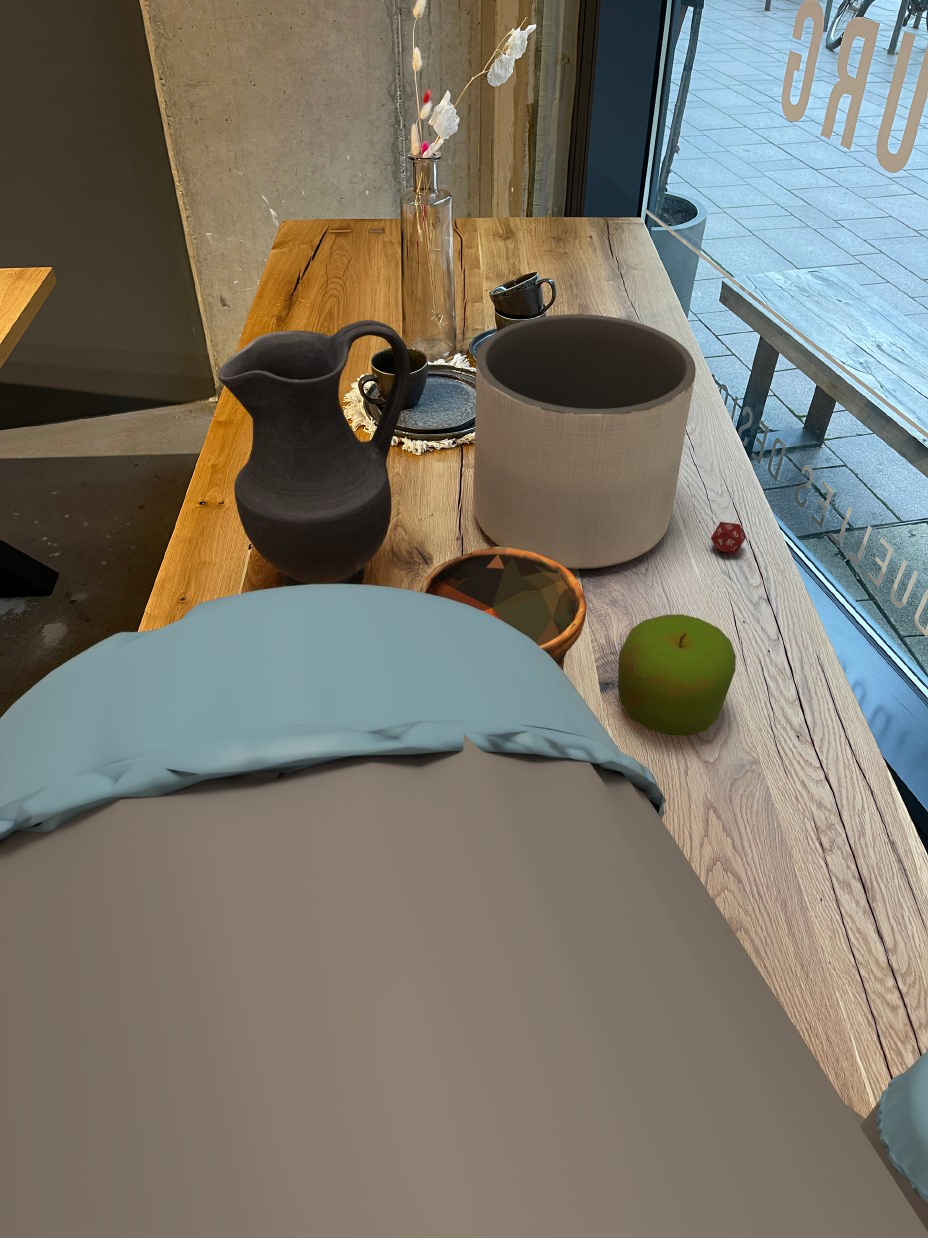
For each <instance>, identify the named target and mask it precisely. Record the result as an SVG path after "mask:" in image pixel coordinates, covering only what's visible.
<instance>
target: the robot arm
mask: <svg viewBox="0 0 928 1238" xmlns="http://www.w3.org/2000/svg"><path fill="white" fill-rule="evenodd" d="M666 803H667V799H666V797H665V796H664V794H663V792H662V790H661V788H660V787H659V785H658V782H657V780H656V778H655V776H654V774H653V772H652V771H651V770H650V768H649V767H648V766H647V765H644V764H642V763H640V762H639V761H638V760H637V759H636V758H634V757H632V756H631V755H629V754H626V753H624V752H622V751H621V750H620V747H618V745H617V744H616V742H615V741H614V739H613V738H612V737H611V735H610V734H609V733H608V731H607V730H606V729H605V727H604V726H603V724H602V723H601V721H600V720H599V718H598V717H597V716H596V715H595V712H593V710H592V709H591V708H590V706H589V705H588V703H587V701H586V700H585V699H584V698H583V696H582V694H580V692H579V690H578V689H577V688H576V686H575V685H574V683H573V682H572V680H571V679H570V678H569V677H568V675H567V674H566V673H565V671H564V669H563V670H562V669H561V668H560V667H559V666H558V664H557V663H556V662H555V661H554V660H553V659H552V658H551V657H550V655H549V654H547V653H546V652H545V651H544V650H543V649H542V648H541V647H540V646H538V645H537V644H536V643H535V642H534V641H533V640H531V639H530V638H529V637H527V636H526V635H524V634H523V633H521V632H520V631H518V630H516V629H515V628H513V627H512V626H510V625H508V624H507V623H505V622H503V621H502V620H500V619H498V618H496V617H494V616H492V615H490V614H488V613H486V612H484V611H481V610H479V609H476V608H474V607H471V606H469V605H466V604H463V603H460V602H457V601H454V600H450V599H447V598H444V597H439V596H435V595H431V594H426V593H422V592H420V591H417V590H411V589H405V588H399V587H393V586H383V585H373V584H361V585H358V584H311V585H298V586H285V585H284V586H279V587H272V588H265V589H257V590H252V591H247V592H241V593H236V594H230V595H227V596H223V597H219V598H218V597H217V598H214V599H210V600H206V601H202V602H198V603H196V604H195V606H193V608H191V609H189V610H188V611H187V612H186V613H185V614H184V616H183V617H182V618H181V619H178V620H176V621H174V622H172V623H169V624H167V625H165V626H164V625H163V626H162V627H160V628H156V629H151V630H142V631H141V630H140V631H121V632H117V633H114V634H113V635H110V636H109V637H107V638H105V639H103V640H100V641H99V642H98V643H96V644H94V645H92V646H90V647H89V648H87V649H86V650H84V651H82V652H80V653H79V654H77V655H76V656H74V657H72V658H71V659H69V660H67V661H66V662H64V663H62V664H61V665H60V666H58V667H56V668H55V669H53V670H52V671H50V672H49V673H48V674H46V676H44V677H43V678H41V680H39V681H38V682H37V683H36V684H34V685H33V686H32V687H31V688H30V689H28V690H27V691H26V692H25V693H24V694H22V696H21V697H19V698H18V699H17V700H16V701H15V702H14V703H13V704H11V706H10V707H9V708H8V709H7V711H5V712H4V714H3V715H2V716H1V717H0V1238H928V1050H926V1051H925V1052H924V1053H922V1055H920V1056H919V1057H918V1059H916V1060H915V1062H914V1063H913V1064H911V1065H910V1066H909V1067H908V1068H907V1069H906V1070H905V1071H904V1072H902V1073H900V1074H898V1075H896V1076H893V1078H892V1079H890V1080H889V1082H888V1084H887V1088H886V1089H883V1091H882V1093H881V1096H880V1098H879V1100H878V1101H877V1102H876V1104H875V1105H874V1106H873V1108H872V1109H871V1111H870V1112H869V1113H868V1115H867V1116H866V1117H865V1116H863V1115H862V1114H860V1113H859V1112H858V1111H856V1110H855V1109H854V1108H852V1107H851V1106H850V1105H848V1104H847V1103H845V1101H844V1099H843V1098H842V1096H841V1095H840V1094H839V1092H838V1090H837V1089H836V1087H835V1085H834V1084H833V1083H832V1081H831V1079H830V1078H829V1077H828V1074H827V1073H826V1072H825V1071H824V1069H823V1068H822V1066H821V1064H820V1063H819V1061H818V1060H817V1058H816V1057H815V1055H814V1053H813V1052H812V1050H811V1049H810V1047H809V1045H808V1044H807V1042H806V1041H805V1040H804V1037H802V1035H801V1034H800V1032H799V1030H798V1029H797V1027H796V1025H795V1024H794V1022H793V1021H792V1019H791V1018H790V1016H789V1014H788V1013H787V1011H786V1010H785V1008H784V1007H783V1005H782V1004H781V1002H780V1001H779V998H777V996H776V995H775V993H774V992H773V990H772V988H771V986H770V985H769V984H768V982H767V981H766V979H765V978H764V975H762V972H760V970H759V968H758V967H757V966H756V963H755V962H754V960H753V958H751V956H750V954H749V953H748V951H747V949H746V948H745V946H744V945H743V944H742V942H741V941H740V939H739V937H738V936H737V934H736V932H735V931H734V929H733V928H732V927H731V925H730V923H729V921H727V918H726V917H725V916H724V914H723V912H722V911H721V910H720V908H719V906H718V905H717V903H716V902H715V900H714V899H713V897H712V896H711V894H710V892H709V891H708V889H707V888H706V885H704V883H703V882H702V880H701V879H700V877H699V875H698V874H697V872H696V870H695V869H694V867H693V866H692V864H691V863H690V861H689V859H687V856H686V855H685V854H684V852H683V850H682V849H681V848H680V846H679V844H678V843H677V841H676V840H675V838H674V836H673V835H672V833H671V831H670V830H669V829H668V827H667V826H666V824H665V823H664V821H663V817H664V816H665V807H664V804H666Z"/></svg>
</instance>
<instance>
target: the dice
mask: <svg viewBox="0 0 928 1238" xmlns="http://www.w3.org/2000/svg"><path fill="white" fill-rule="evenodd" d="M718 523H719V524H718V525H717V527H716V529H715V530H714V532H713V533H712V535H711V537H710V540H711V542H712V543H713V545H714V547H715V549H716V551H718V552H723V553H729V554H730V553H731V554H736V555H737V554H738V552H739V550H740V548H741V547H742V546H743V544H744V542H745V541H746V539H747V536H746V534H745V532H744V529H743V528H742V525H741V524H740V523H733V522H727V521H720V522H718Z"/></svg>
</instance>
